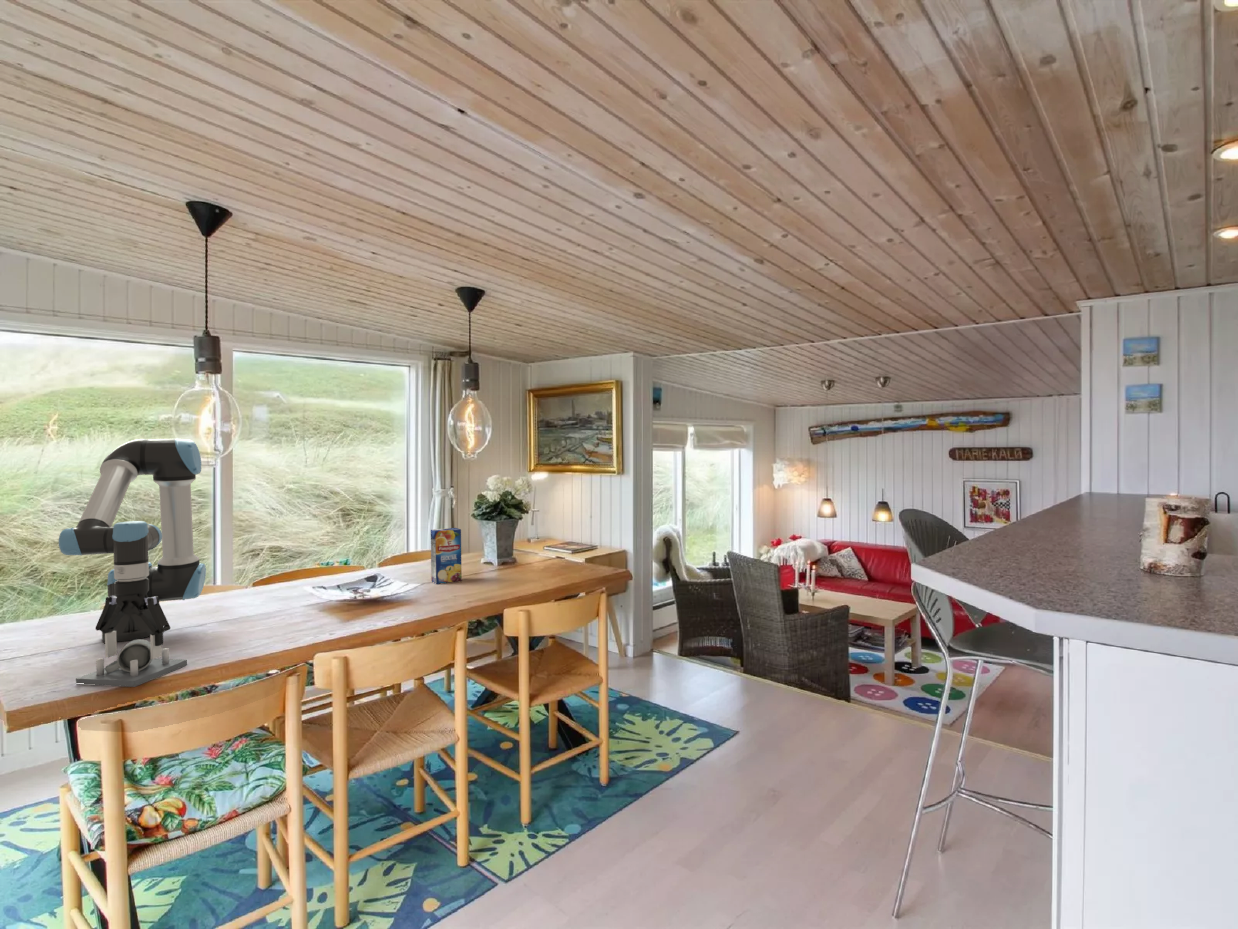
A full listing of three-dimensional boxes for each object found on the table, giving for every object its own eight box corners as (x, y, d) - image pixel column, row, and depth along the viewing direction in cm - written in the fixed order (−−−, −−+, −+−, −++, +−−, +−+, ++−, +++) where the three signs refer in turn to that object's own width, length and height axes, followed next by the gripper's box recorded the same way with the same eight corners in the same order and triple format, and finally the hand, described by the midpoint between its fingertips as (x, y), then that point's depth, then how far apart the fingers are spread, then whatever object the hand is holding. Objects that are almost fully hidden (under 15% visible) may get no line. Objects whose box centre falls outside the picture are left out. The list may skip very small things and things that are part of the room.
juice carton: (456, 578, 303) (455, 527, 302) (461, 581, 296) (461, 529, 296) (431, 581, 296) (430, 529, 296) (435, 584, 290) (435, 531, 289)
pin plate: (76, 684, 167) (75, 663, 167) (133, 662, 184) (132, 643, 184) (134, 686, 165) (134, 665, 165) (187, 664, 182) (186, 645, 182)
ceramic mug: (155, 661, 180) (153, 634, 180) (153, 669, 173) (151, 641, 173) (107, 669, 175) (105, 641, 174) (103, 677, 168) (101, 648, 167)
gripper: (77, 580, 172) (79, 659, 172) (161, 582, 169) (163, 662, 169) (103, 575, 179) (105, 651, 180) (184, 576, 176) (186, 653, 176)
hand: (133, 656), depth 174 cm, fingers open, 13 cm apart
